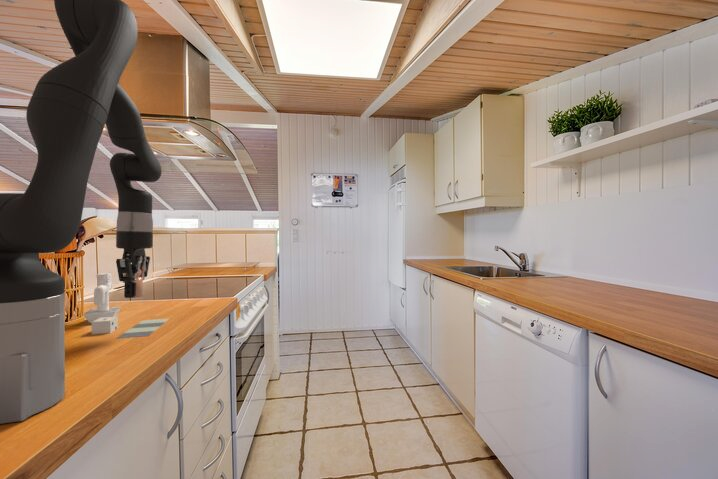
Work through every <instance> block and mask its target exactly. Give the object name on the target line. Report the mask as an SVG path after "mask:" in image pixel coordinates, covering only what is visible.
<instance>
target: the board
mask: <svg viewBox="0 0 718 479" xmlns="http://www.w3.org/2000/svg"><path fill="white" fill-rule="evenodd" d="M169 320H170V318H159V319H158V318H157V319H143V320H141V321H140V322H138V323H137V324H136V325H134V326H132V327H131V328H130V329H128V330H127V331H125V332H123V333H121V334H120V335H119V336H117V337H116V338H115V339H118V340H119V339H127V338H128V339H129V338H131V339H132V338H140V337H141V338H143V337H149V336H150V335H151V334H153V333H154V332H155V331H156V330H158V329H159V328H160V327H161V326H162V325H164V324H165V323H166V322H168V321H169Z"/></svg>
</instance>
